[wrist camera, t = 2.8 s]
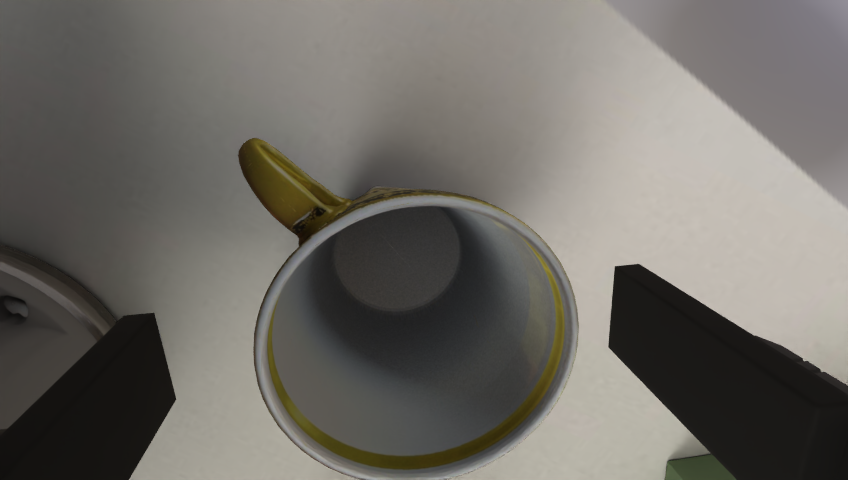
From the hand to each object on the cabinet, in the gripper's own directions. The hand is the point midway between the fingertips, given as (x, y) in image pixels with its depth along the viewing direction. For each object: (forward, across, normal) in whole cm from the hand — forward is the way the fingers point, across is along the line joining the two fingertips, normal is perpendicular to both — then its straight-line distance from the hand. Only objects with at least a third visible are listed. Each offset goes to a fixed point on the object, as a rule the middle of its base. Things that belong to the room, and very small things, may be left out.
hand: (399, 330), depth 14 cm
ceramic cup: (+10, 0, 0) cm, 11 cm away
